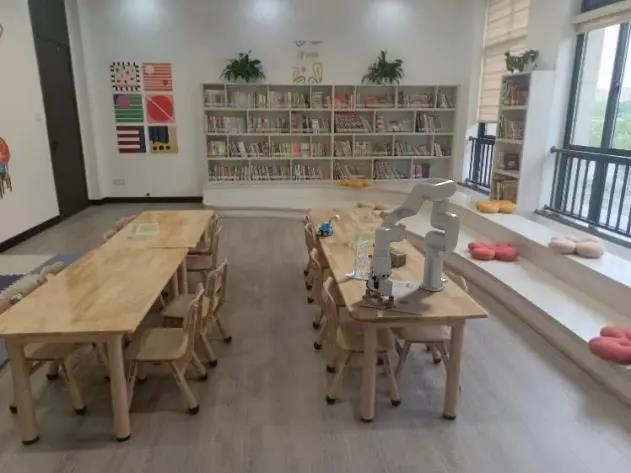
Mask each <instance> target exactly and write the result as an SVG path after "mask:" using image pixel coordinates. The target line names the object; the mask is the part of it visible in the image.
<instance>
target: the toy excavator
mask: <svg viewBox="0 0 631 473" xmlns="http://www.w3.org/2000/svg"><path fill="white" fill-rule="evenodd" d="M333 221H335V222H338V221H340V215H338V214H335V215H333V216H332V217H330V218H329V219H328V221H325V222H322V223H321V224H320V226H319V227H318V231H317V235H318V236H322V235H323V236H324V237H325V238H327V237H328V236H331V235H333V234H334V229H335V228H334V227H333Z"/></svg>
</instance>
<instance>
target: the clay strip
mask: <svg viewBox="0 0 631 473" xmlns="http://www.w3.org/2000/svg"><path fill="white" fill-rule="evenodd" d="M372 276H374V274H373V275H372ZM367 277H368V279H367V280H368V286H369V287H371V288H373V289H374V290H376V291H377V292H379V293H381V294H382V295H381V296H383V297H384V298H385V297H389V296H393V282H394V281H392V280H390V279H389V278H387V279H386V278H385V277H383V276H382V275H381V276H379V278H378V282H379V285H378V289H375V288H374V280H373V279H372V278H370V277H369V276H368V275H367ZM368 286H367V287H368ZM369 287H368V288H369Z"/></svg>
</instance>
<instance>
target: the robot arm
mask: <svg viewBox="0 0 631 473" xmlns="http://www.w3.org/2000/svg"><path fill="white" fill-rule="evenodd" d="M456 192H457V184H456V183H455V181H453V180H450V179H446V178H445V179H444V178H440V177H429V178H426V180H425V182H423V181H421V182H420V181H419V182H417V183H415V184H414V185H413V187H412V189H411V191H410V192H409V193H408V195H407V197H406V199H404V201H403V203H402V204H401V205H399V207H396V208H395V209H393V210H392V211H390V213H388V214H387V215H386V216H385V217H384V219H383V221H382V223H380V226H378V227H376V228H375V230H374V232H375V233H374V243H375V244H374V243H373V244H374V247H373V254H372V256H371V259H370V265H369V271H370V273H369V274H368V275H367V277H368V276H369V277H370V278H372V279H373V280H374V288H375V289H378V285H379V282H378V278H379V276H383V277H385V278H386V279H389V277H390V276H391V275H393V271H392V264H391V257H390V255H389V254H390V252H391V249H390V246H391V243H401V242H403V241H404V240H405V239H406V237H407V230H406V229H405V228H403V227H402V226H399V225H396V224H397V223H398V222H399V221H400V220H403V219H405V218H409V217H414V216H416V215H417V214H418V213H419V211H420V210H421V208H422V206H423V205H424V203H425V201H428V202H432V203H431V214H430V218H429V220H430V221H429V222H430V223H429V224H430V226H431V227H432V228H434V229H437V230H430V231H428V232H426V234H425V235H424V239H423V240H424V248H425V249H424V253H425V254H424V264H423V265H424V266H423V276H422V278H423V279H422V282H420V283H419V288H421V289H422V288H423V290H424V289H425V291H429V292H440V291H443V290H444V285H443V284H447V283H449V280H448V278H445V279H443V278H442V276H443V266H444V265H443V264H444V253H447V254H450V253H451V254H452V253H453V252H454V251H455V249H456V248H457V244H458V240H459V234H460V227H461V221H460V217H459V216H458V215H457V214H454V213H451V212H449V210H450V198H451V197H453V196H454V195H455V193H456ZM439 230H440V231H439ZM443 231H444V232H443ZM443 252H444V253H443ZM373 274H374V276H372V275H373Z"/></svg>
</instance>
